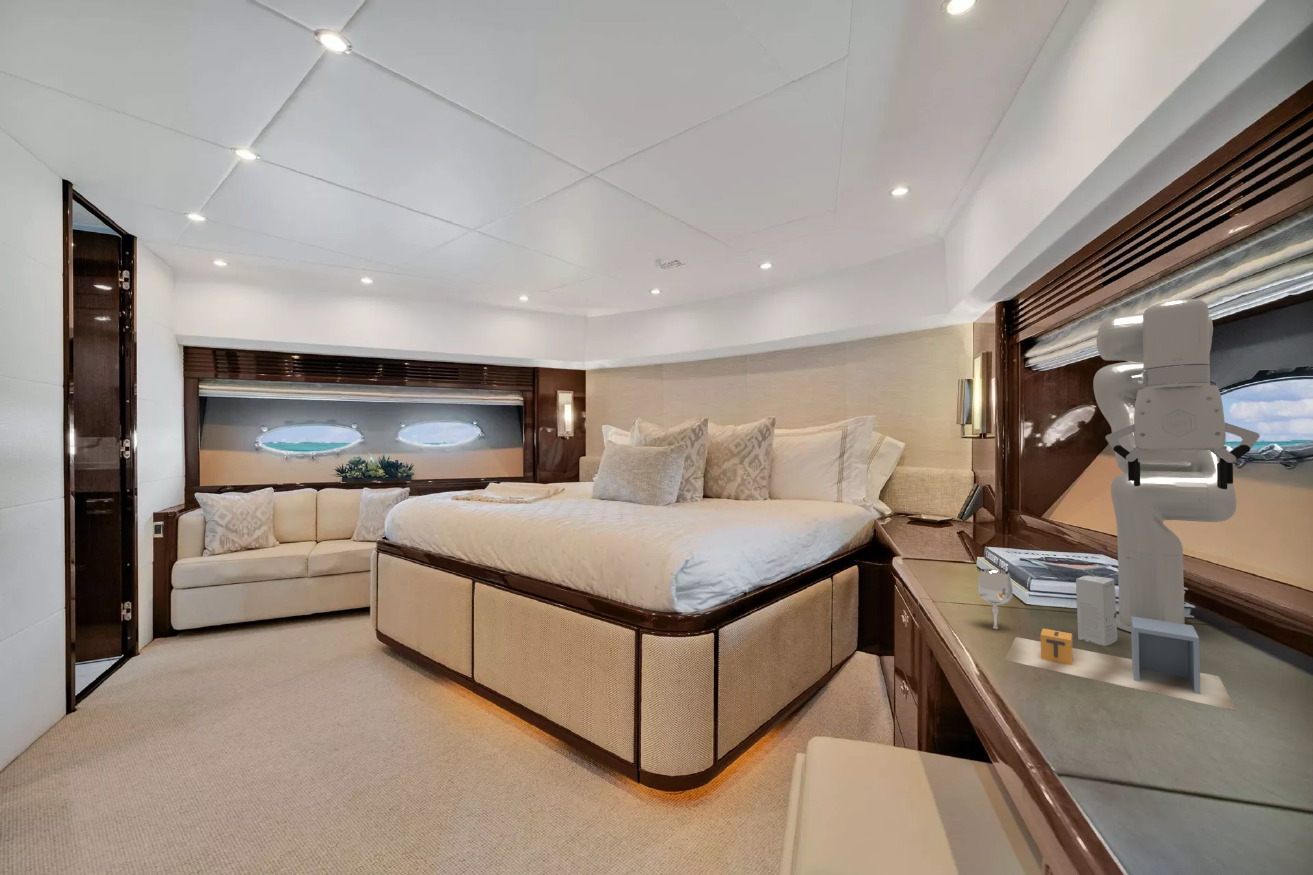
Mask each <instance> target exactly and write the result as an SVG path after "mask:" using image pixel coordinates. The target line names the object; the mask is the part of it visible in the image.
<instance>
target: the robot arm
mask: <svg viewBox="0 0 1313 875" xmlns="http://www.w3.org/2000/svg"><path fill="white" fill-rule="evenodd" d="M1209 314H1210V313H1209V306H1208V304H1207V303H1206V302H1205V301H1203V300H1201V299H1195V298H1188V299H1187V298H1185V299H1176V300H1170V301H1169V300H1168V301H1163V302H1160V303H1155V304H1153V305H1151V306H1149V307H1147V308H1146V309H1145V310H1144V311H1143V312H1142V313H1133V314H1127V315H1117V316H1113V317H1108V318H1106V319H1105V320H1103V322H1102V323H1101V324H1100V326H1099V328H1098V331H1097V334H1096V349H1097V352H1098V354H1099V356H1100V358H1102V360H1104V361H1121V362H1117V363H1113V364H1107V365H1106V366H1103V367H1101V368H1100V369H1098V370H1097V371H1096V373H1095V375H1094V377H1093V381H1092V382H1093V393H1094V397H1095V400H1096V404H1097V406H1098V408H1099V410H1100V412H1101V414H1102V415H1103V416H1104V419H1105V420H1106V421H1107V422H1108V424H1109V426H1110V428H1111V433H1109V434H1107V435H1105V440H1106V441H1107V443H1108V444H1109V446H1110V447H1111V448H1112V450H1113V451H1114V456H1115V462H1116V464H1117V467H1118V468H1119V469H1120V471H1122V472H1123V473H1121V474H1119V475H1118V474H1117V476H1115V477H1114V478H1113V480H1112V481H1111V484H1110V495H1111V500H1112V504H1113V510H1114V514H1115V515H1114V516H1115V522H1116V532H1117V537H1116V538H1117V570H1118V571H1117V572H1118V573H1117V575H1118V576H1117V580H1118V602H1117V605H1118V613H1116V621H1117V629H1119V630H1122V631H1125V632H1128V633H1129V632H1130V633H1131V616H1133V617H1140V618H1147V619H1153V620H1160V621H1166V622H1173V623H1179V624H1185V623H1186V622H1185V587H1184V585H1185V583H1184V581H1185V580H1184V549H1183V545H1182V544H1183V543H1182V541H1181V539H1180V538H1179V537H1178V536H1177V535H1176V533H1174V532H1173V531H1172V530H1171V529H1170V528H1169V527H1167V525H1165V524H1164V521H1183V522H1184V521H1185V522H1201V523H1203V522H1204V523H1206V522H1207V523H1219V522H1220V523H1221V522H1225V521H1227V520H1230V519H1231V518H1233V516H1234V515H1235V513H1236V510H1237V496H1236V492H1235V487H1234V463H1235V462H1236V461H1237V460H1239V459H1240V458H1242V457H1243V456H1244V455H1246V454H1248V453H1249V452H1251V449H1252V447H1254V445H1255V444H1256V443H1257V442H1258V440H1259V438H1260V437H1261V435H1260V433H1258V432H1256V431H1253V430H1249V429H1246V428H1242V427H1240V426H1238V425H1234V424H1231V423H1228V422H1226V421H1225V414H1224V406H1223V401H1222V395H1221V392H1220V389H1219V385H1211V366H1210V364H1211V361H1210V354H1211V349H1212V342H1213V334H1214V333H1213V332H1214V326H1213V324H1214V323H1213V320H1212V317H1211V316H1209ZM1122 361H1123V362H1122ZM1226 433H1227V434H1231V435H1233V436H1237V437H1240V438H1241V441H1240V442H1239V444H1238V445H1237V446H1236V447H1235V448H1233V449H1232V450H1230V451H1229V450H1228V449H1226V448H1225V447H1224V446H1225V444H1226V436H1227V435H1226Z"/></svg>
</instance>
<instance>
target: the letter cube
mask: <svg viewBox="0 0 1313 875" xmlns="http://www.w3.org/2000/svg"><path fill="white" fill-rule="evenodd" d="M1040 642H1041V659H1045V660H1050V661H1054V662H1059V663H1064V664H1069V665H1072V658H1073V652H1072V648H1073V633H1071V632H1064V631H1059V630H1055V629H1049V628H1042V629H1041V632H1040Z"/></svg>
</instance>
